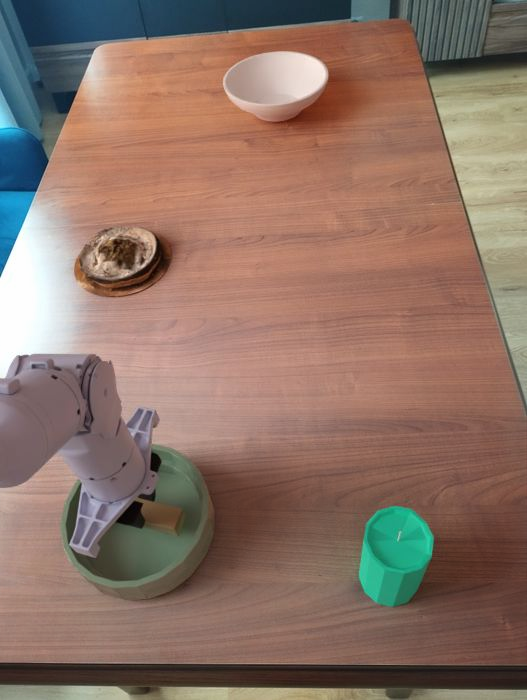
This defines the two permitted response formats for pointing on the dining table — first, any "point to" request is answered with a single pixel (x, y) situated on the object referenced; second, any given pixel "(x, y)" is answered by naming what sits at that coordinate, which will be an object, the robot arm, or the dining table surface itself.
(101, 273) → the brown mottled round dish
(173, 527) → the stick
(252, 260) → the dining table surface
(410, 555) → the candle
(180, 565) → the mixing bowl
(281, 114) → the bowl
